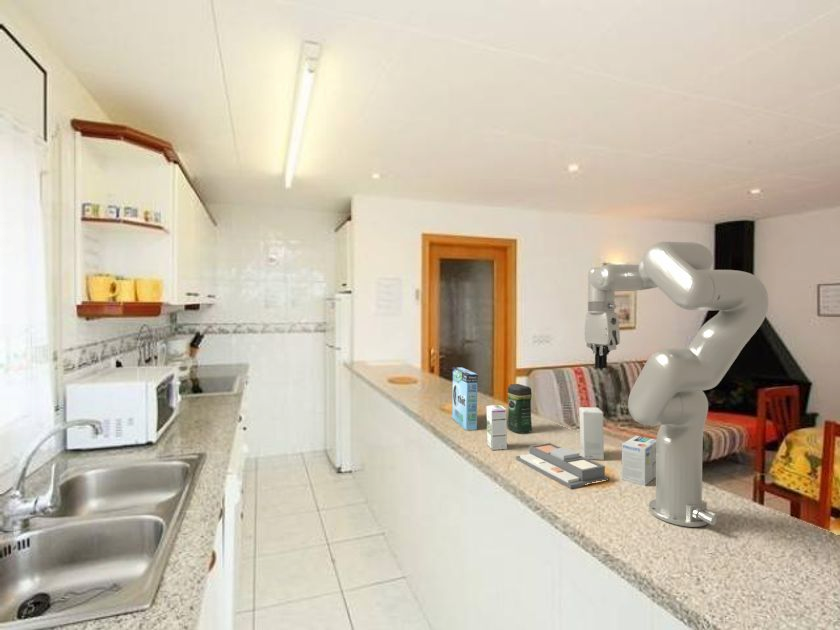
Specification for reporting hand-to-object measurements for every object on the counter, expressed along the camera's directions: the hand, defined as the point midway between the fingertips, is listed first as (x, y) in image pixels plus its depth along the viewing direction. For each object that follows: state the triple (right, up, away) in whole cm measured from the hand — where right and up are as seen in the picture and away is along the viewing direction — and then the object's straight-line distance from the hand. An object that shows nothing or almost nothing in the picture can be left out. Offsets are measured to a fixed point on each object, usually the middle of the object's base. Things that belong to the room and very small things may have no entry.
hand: (600, 367), depth 134 cm
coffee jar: (-15, -31, +42) cm, 54 cm away
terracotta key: (-14, -30, +8) cm, 34 cm away
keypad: (-13, -31, 0) cm, 34 cm away
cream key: (-8, -30, -6) cm, 32 cm away
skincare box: (+2, -31, +12) cm, 33 cm away
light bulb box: (+9, -32, -7) cm, 33 cm away
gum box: (-37, -30, +52) cm, 70 cm away
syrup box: (-28, -31, +21) cm, 47 cm away
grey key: (-11, -28, +1) cm, 30 cm away
